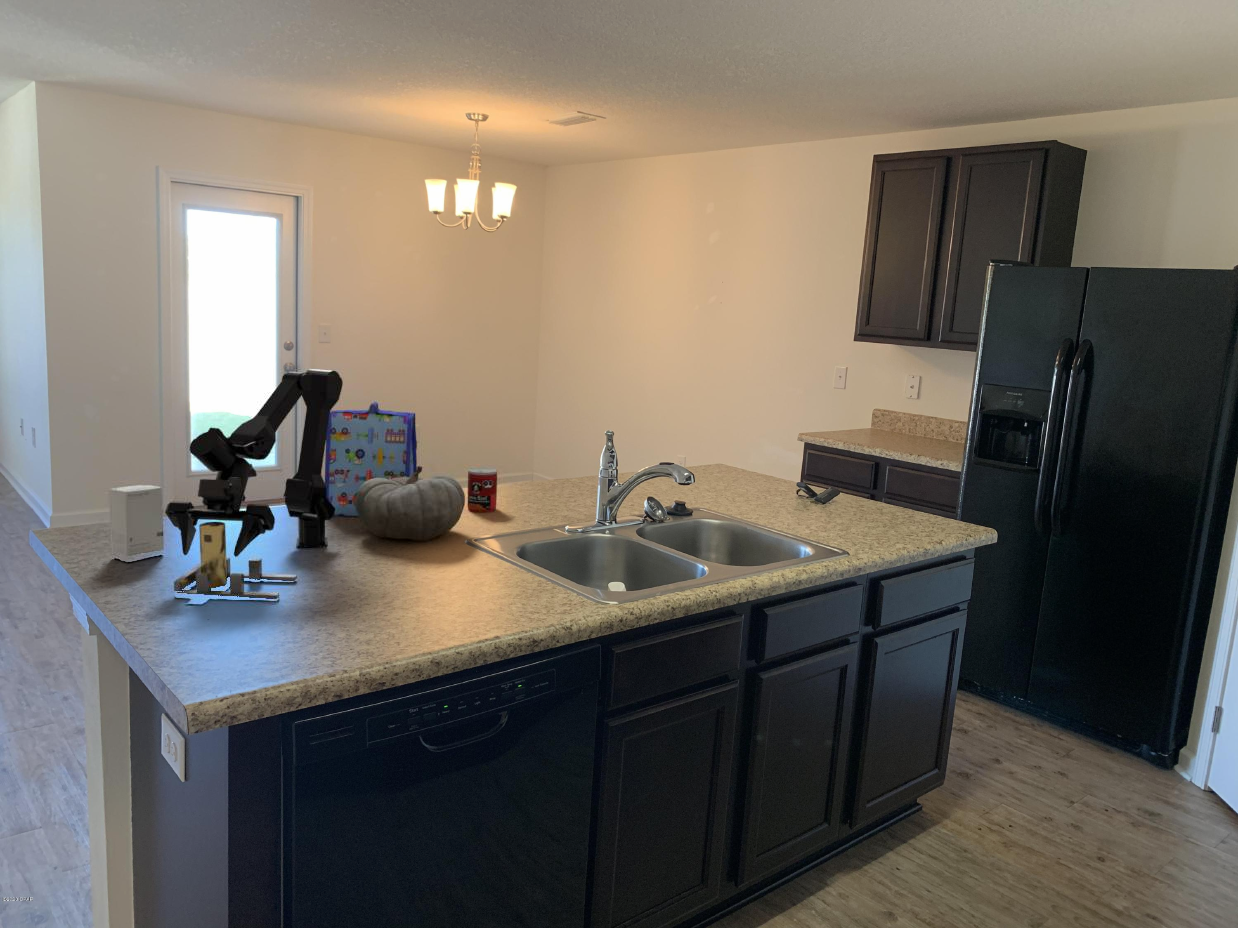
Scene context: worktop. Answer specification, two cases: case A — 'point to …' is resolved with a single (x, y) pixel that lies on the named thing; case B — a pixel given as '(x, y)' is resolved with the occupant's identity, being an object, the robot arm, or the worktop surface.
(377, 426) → the lunch bag
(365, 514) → the gourd
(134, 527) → the skincare box
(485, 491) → the canned food
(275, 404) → the robot arm
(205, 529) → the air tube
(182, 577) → the frame
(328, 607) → the worktop surface
